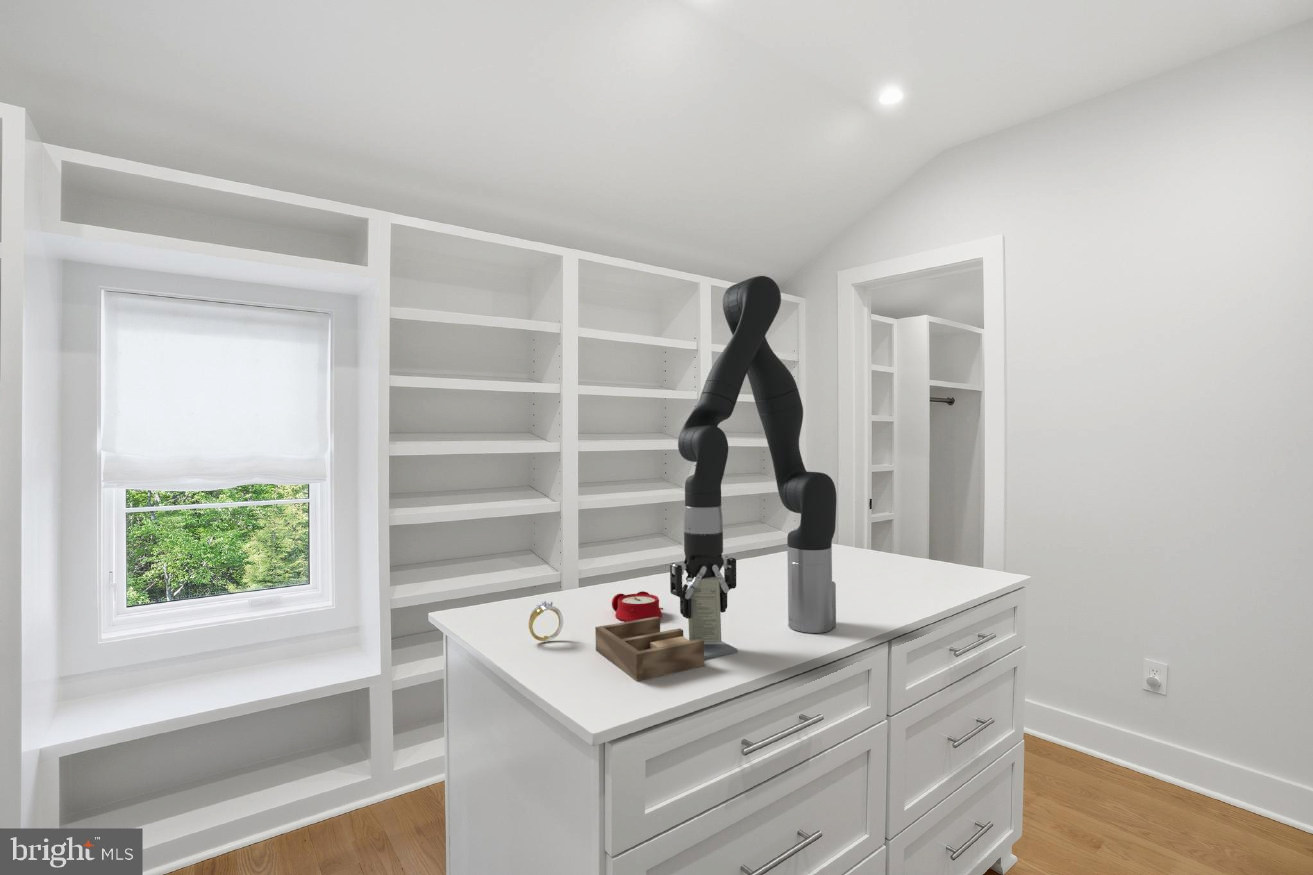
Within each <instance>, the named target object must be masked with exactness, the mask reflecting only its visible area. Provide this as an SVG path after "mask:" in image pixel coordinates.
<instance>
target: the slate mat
mask: <svg viewBox="0 0 1313 875" xmlns="http://www.w3.org/2000/svg"><path fill="white" fill-rule="evenodd" d="M735 653H738V648H737V647H734V646H733V645H730V644H728V643H726V642H725V641H722V640H721V643H704V660H708V659H712V658H716V657H721V656H725V655H726V656H727V655H730V654H735Z"/></svg>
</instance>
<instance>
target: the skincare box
mask: <svg viewBox="0 0 1313 875" xmlns="http://www.w3.org/2000/svg"><path fill="white" fill-rule="evenodd" d="M692 581H693V579H692V578H688V579H687V583H688V582H692ZM687 588H688V585H687ZM690 599H691V618H688V640H690V641H692V640H697V639H702V640H704V643H721V641H722V617H721V616H722V614H721V612H720V587H719V578H718V577H708V578H703V579H701V580H700V582H699V584H698V586H697V588H696V589H694V591H693V593H692V595H691V597H690Z"/></svg>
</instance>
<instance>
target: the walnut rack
mask: <svg viewBox="0 0 1313 875" xmlns="http://www.w3.org/2000/svg"><path fill="white" fill-rule="evenodd" d="M681 636H683V637H684V629H682V628H675V629H670V630H663V631H661V617H660V618H659V617H652V618H646V619H640V620H634V621H628V622H627V621H622V622H618V623H617V622H616V623H612V624H611V623H610V624H607V625H599V626H595V651H596V652H597V653H599V654H600V655H601V656H603V657H604V658H605V659H607V660H608V661H609V662H610V663H612V664H613V665H615V667H617V668H618V669H620V670H621V671H622V672H623V673H625V674H626V675H628V676H629V677H630V678H631V679H633V680H635V681H636V682H641V681H643V680H648V679H652V678H656V677H661V676H664V675H669V674H674V673H679V672H683V671H688V670H691V669H695V668H701V667H705V659H704V640H702V639H697V640H692V641H687V642H682V643H677V644H672V645H667V646H662V647H657V648H652V649H650V642H655V641H660V640H665V639H670V638H676V637H681Z"/></svg>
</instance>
